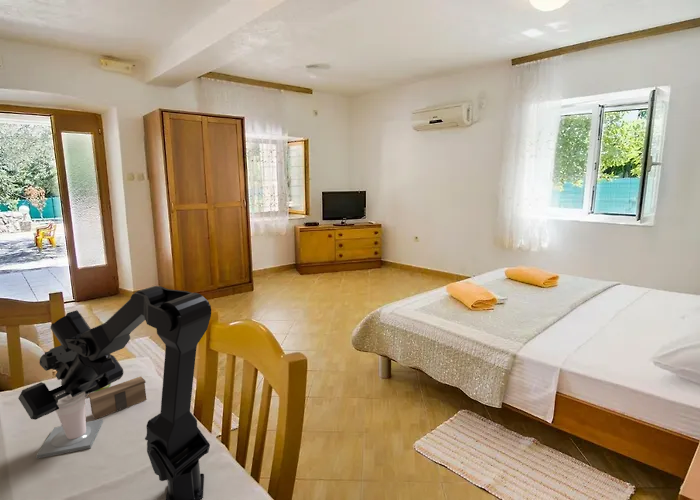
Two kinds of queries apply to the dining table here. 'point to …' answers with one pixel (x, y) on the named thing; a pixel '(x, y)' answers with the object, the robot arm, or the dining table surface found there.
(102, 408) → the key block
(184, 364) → the robot arm
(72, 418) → the smoothie
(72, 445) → the coaster
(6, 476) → the dining table surface
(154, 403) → the dining table surface
